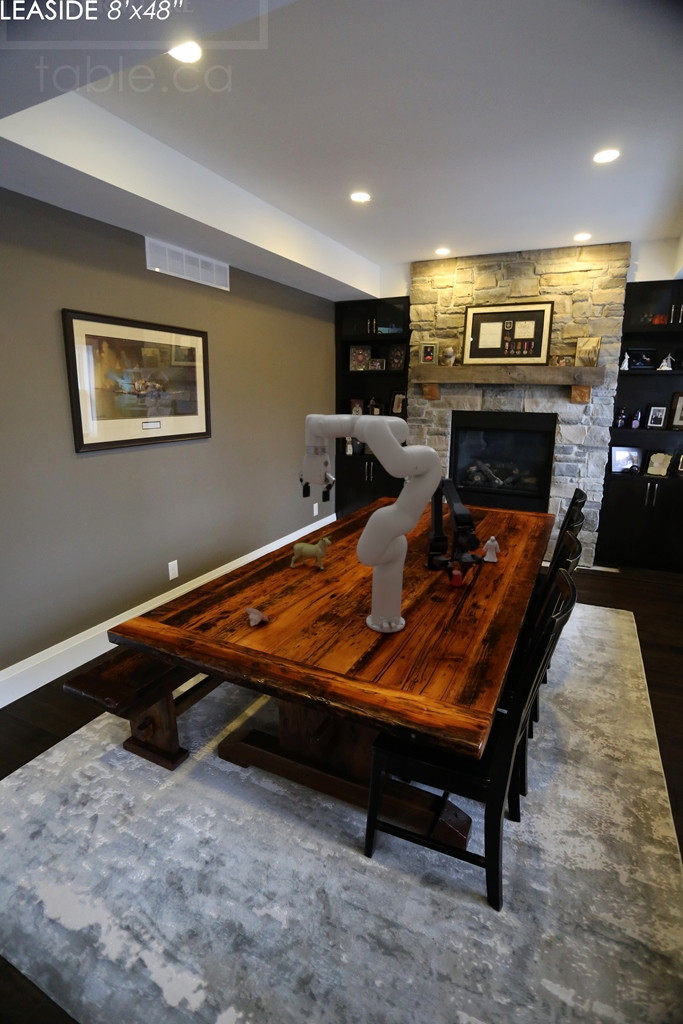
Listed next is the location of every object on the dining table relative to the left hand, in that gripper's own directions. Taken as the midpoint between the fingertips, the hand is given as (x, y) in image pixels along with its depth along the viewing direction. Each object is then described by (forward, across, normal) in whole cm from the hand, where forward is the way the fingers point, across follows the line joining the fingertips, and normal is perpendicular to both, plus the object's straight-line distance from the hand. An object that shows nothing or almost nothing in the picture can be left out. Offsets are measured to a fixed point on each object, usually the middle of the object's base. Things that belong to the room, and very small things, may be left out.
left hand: (316, 499), depth 176 cm
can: (+35, -33, -45) cm, 66 cm away
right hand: (+34, -33, -45) cm, 66 cm away
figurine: (+36, -30, -82) cm, 94 cm away
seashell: (+36, -3, +30) cm, 47 cm away
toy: (+36, +20, -18) cm, 45 cm away
